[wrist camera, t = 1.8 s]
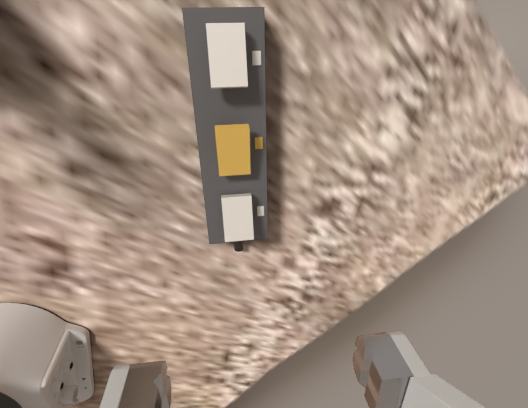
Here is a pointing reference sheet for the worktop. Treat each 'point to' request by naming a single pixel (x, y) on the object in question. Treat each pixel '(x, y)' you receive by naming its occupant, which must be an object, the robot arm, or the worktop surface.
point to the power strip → (229, 115)
